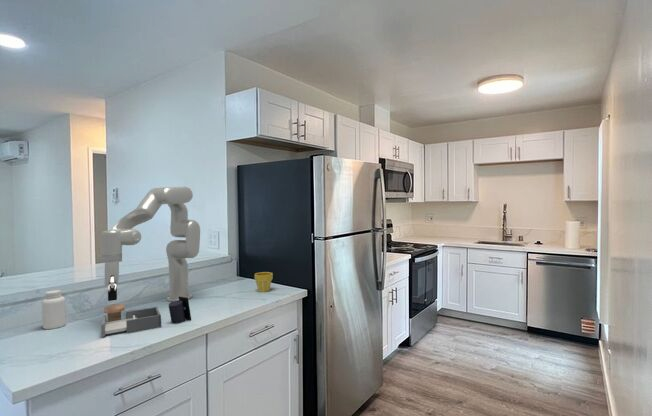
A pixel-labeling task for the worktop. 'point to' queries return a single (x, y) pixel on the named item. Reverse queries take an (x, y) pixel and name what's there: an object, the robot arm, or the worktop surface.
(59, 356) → the worktop surface
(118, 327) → the tray
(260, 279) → the plant pot
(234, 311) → the worktop surface
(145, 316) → the housing
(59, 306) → the pill bottle
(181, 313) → the speaker
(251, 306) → the worktop surface
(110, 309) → the tan domed disc
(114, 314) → the brown wooden cube
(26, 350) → the worktop surface
